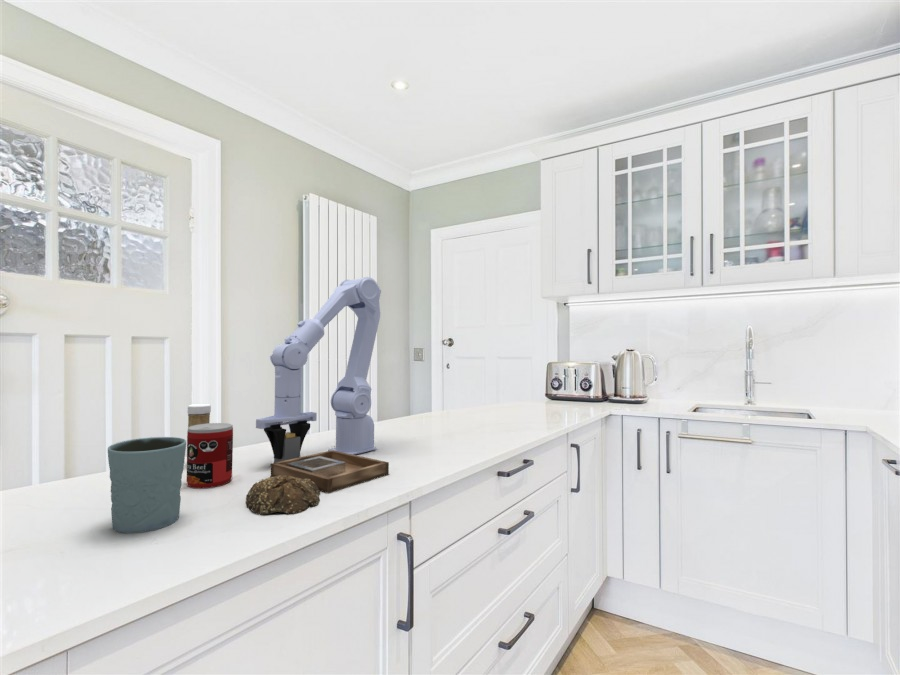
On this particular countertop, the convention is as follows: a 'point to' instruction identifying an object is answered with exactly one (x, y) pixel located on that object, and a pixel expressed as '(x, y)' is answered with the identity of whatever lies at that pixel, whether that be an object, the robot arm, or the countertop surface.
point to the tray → (355, 473)
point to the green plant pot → (146, 483)
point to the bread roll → (282, 495)
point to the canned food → (209, 455)
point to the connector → (290, 447)
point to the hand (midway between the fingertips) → (287, 456)
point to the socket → (320, 466)
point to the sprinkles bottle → (198, 414)
